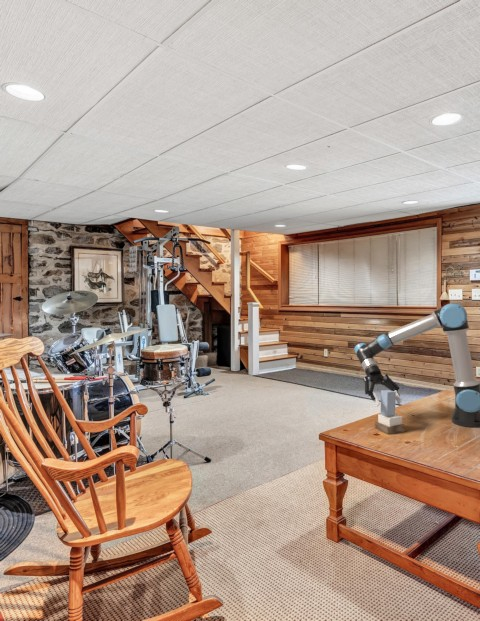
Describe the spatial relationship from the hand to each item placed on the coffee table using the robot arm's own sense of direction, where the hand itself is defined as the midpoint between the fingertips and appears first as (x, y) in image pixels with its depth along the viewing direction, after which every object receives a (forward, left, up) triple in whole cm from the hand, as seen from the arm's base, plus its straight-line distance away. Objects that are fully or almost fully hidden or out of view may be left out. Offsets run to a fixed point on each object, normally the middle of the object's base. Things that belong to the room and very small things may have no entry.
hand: (389, 403), depth 208 cm
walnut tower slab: (0, -2, -14) cm, 15 cm away
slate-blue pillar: (+1, -2, -6) cm, 7 cm away
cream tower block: (0, -2, -10) cm, 11 cm away
